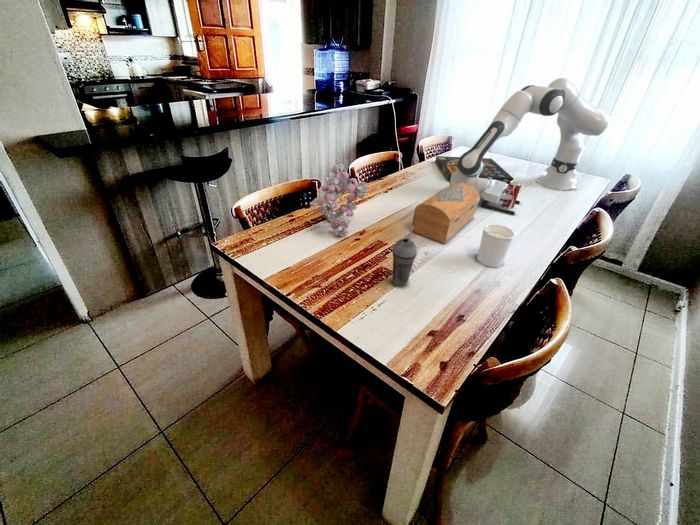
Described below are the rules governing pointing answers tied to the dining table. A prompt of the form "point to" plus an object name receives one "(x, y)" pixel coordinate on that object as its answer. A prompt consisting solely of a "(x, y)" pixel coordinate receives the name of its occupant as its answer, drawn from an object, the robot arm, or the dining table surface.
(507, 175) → the pizza box
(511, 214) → the bay
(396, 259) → the beverage cup
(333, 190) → the pink flower bunch
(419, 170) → the dining table surface
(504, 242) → the candle holder
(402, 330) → the dining table surface
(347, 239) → the dining table surface
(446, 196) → the wooden box
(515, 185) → the soda can
